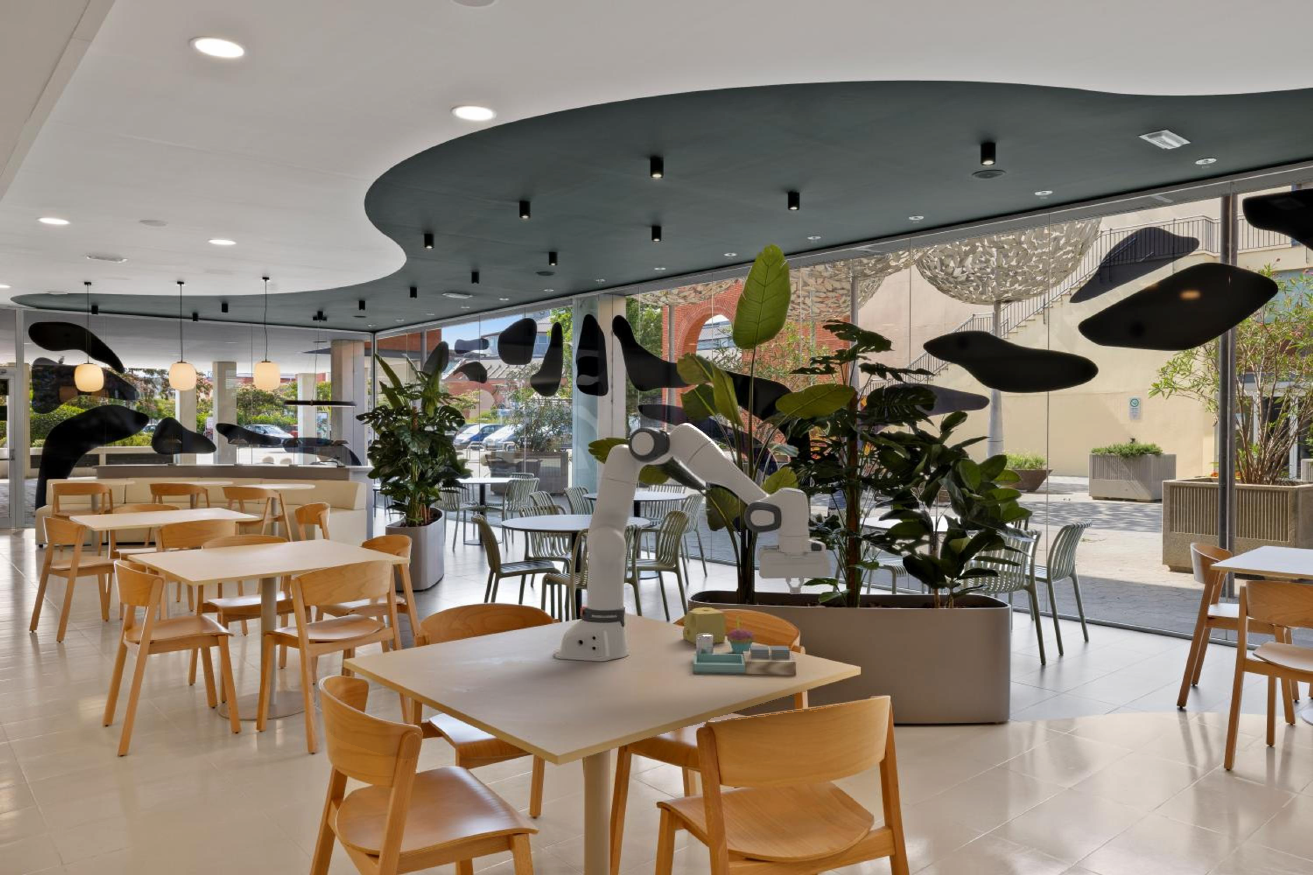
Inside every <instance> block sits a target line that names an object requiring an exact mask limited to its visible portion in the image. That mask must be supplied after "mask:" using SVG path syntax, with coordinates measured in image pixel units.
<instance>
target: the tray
mask: <svg viewBox="0 0 1313 875" xmlns="http://www.w3.org/2000/svg"><path fill="white" fill-rule="evenodd" d="M693 674H727V675H729V674H730V675H733V674H734V675H746V674H745V661H744V656H743V654H737V653H713V654H696V653H694V656H693Z"/></svg>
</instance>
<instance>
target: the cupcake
mask: <svg viewBox="0 0 1313 875" xmlns="http://www.w3.org/2000/svg"><path fill="white" fill-rule="evenodd" d="M735 619H736V627H737V628H735V629H732V630H730V631H729V632H728V633H727V634H726V640H727V642H729V644H730V646H731V649H732V652H733V654H743V651H750V645H752V644H753V643H754V642H755V639H756V638H755V634H754V633H753V632H751V631H750V630H749V629H746V628H740V618H739V616H738V614H736V618H735Z"/></svg>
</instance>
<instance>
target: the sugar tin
mask: <svg viewBox="0 0 1313 875" xmlns="http://www.w3.org/2000/svg"><path fill="white" fill-rule="evenodd" d="M695 645H696V648H695V649H696V650H695V651H696V652H695V654H714V643H713V634H708V633H700V634H697V635H696V644H695Z"/></svg>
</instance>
